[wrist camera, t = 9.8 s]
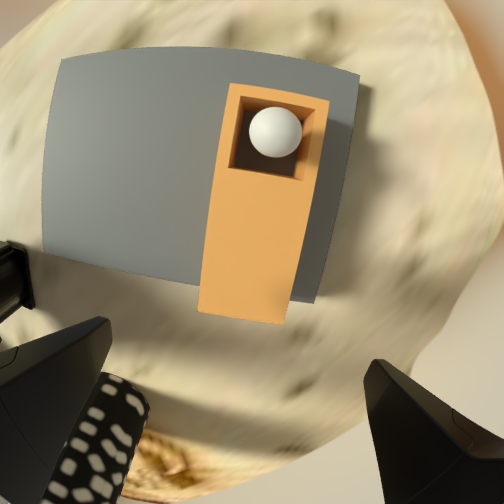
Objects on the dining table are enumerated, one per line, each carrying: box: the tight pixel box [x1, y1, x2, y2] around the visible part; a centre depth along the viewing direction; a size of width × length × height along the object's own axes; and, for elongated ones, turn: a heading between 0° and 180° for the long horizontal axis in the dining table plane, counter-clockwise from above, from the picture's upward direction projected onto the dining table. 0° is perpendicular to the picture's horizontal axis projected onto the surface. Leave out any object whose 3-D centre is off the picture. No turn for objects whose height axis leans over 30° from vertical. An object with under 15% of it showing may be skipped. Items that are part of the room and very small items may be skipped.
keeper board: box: [42, 47, 360, 304], centre depth 14 cm, size 16×22×9 cm
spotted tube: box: [40, 372, 150, 504], centre depth 16 cm, size 8×8×20 cm
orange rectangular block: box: [198, 83, 330, 325], centre depth 15 cm, size 12×5×4 cm, turn 171°
